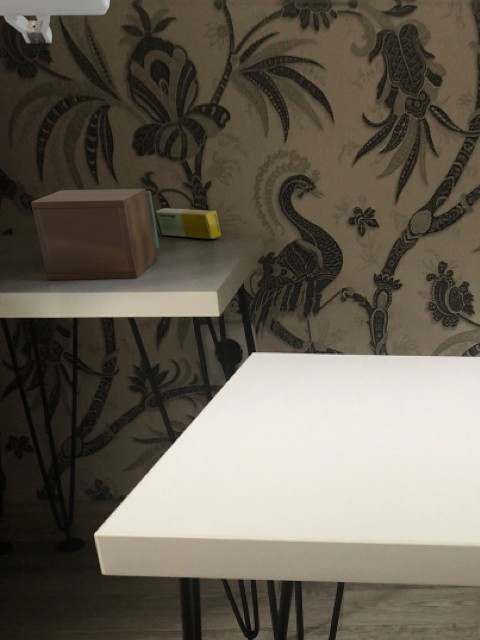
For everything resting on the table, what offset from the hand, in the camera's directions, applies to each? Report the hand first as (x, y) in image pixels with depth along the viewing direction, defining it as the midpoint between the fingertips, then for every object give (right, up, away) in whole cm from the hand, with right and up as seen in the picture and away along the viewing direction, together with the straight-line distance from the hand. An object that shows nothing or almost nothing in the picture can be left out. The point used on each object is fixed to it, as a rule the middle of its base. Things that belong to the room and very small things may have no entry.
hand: (39, 39), depth 111 cm
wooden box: (+2, -22, +16) cm, 28 cm away
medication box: (+7, -8, +41) cm, 42 cm away
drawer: (+1, -17, +23) cm, 29 cm away
